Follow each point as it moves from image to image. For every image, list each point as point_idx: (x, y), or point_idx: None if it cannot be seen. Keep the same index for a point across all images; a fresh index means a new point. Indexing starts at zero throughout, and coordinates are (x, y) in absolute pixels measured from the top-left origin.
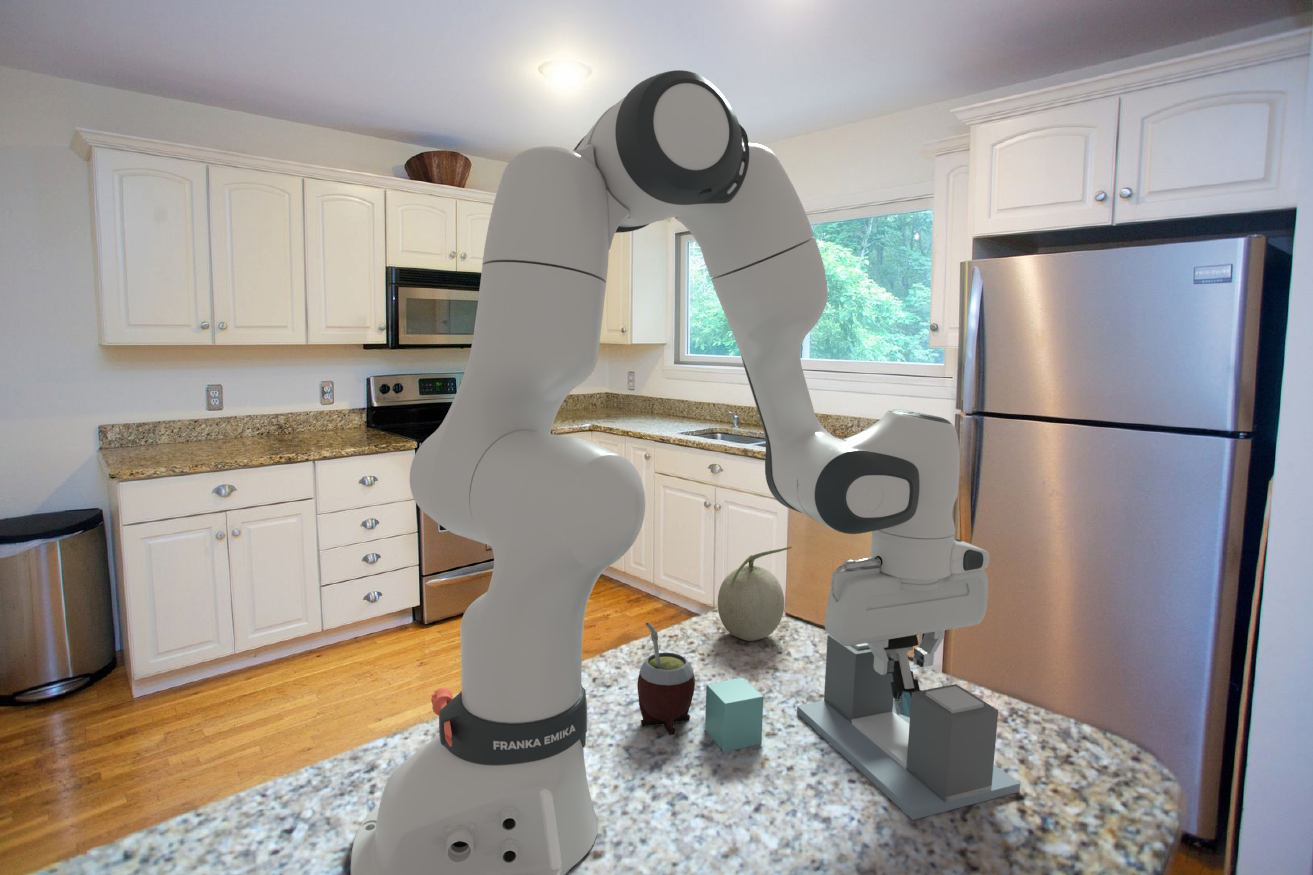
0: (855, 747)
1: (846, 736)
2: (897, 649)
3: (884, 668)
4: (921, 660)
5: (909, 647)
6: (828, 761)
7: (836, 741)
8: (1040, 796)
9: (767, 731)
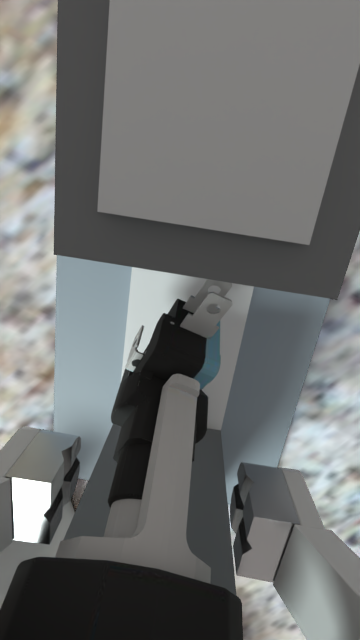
0: (283, 363)
1: (267, 398)
2: (185, 573)
3: (305, 491)
4: (66, 464)
5: (108, 559)
6: (341, 365)
7: (299, 395)
8: (37, 47)
9: (356, 480)
